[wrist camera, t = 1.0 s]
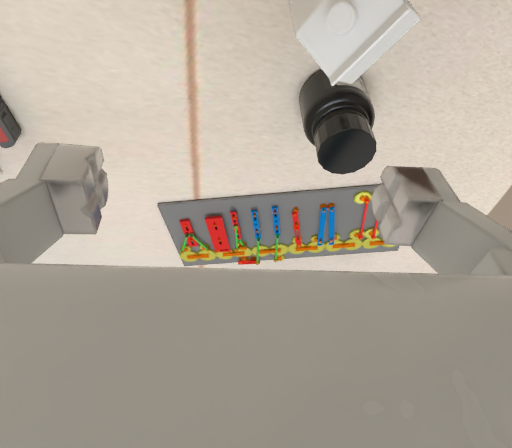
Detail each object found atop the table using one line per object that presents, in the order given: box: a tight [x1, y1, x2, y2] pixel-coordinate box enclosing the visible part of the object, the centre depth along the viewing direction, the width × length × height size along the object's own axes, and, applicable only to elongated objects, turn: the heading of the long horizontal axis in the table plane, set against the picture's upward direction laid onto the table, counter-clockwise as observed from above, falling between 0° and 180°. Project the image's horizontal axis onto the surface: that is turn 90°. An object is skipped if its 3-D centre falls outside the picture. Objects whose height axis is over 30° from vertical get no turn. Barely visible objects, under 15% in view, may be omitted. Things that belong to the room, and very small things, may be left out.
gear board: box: [157, 185, 399, 266], centre depth 73 cm, size 45×2×19 cm
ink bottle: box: [299, 70, 376, 174], centre depth 48 cm, size 10×9×12 cm
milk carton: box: [289, 0, 421, 86], centre depth 34 cm, size 7×7×19 cm
